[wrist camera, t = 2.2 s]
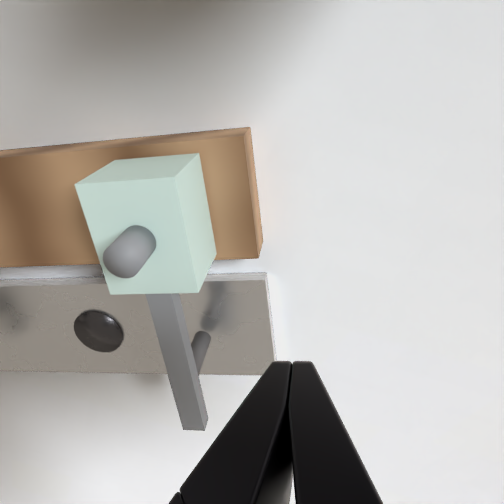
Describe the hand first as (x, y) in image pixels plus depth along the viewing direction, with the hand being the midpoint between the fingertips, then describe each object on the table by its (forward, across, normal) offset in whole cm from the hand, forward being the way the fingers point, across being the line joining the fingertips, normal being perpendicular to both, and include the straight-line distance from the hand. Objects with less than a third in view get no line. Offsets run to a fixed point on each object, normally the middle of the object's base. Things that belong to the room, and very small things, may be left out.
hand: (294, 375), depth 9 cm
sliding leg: (+12, +7, +5) cm, 14 cm away
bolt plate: (+13, +14, +8) cm, 21 cm away
